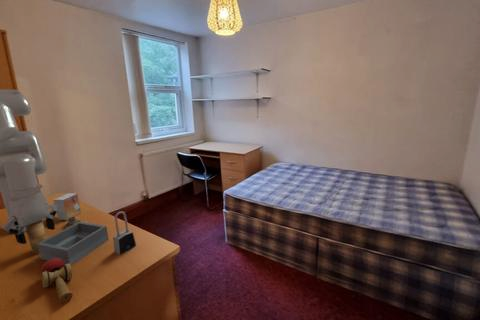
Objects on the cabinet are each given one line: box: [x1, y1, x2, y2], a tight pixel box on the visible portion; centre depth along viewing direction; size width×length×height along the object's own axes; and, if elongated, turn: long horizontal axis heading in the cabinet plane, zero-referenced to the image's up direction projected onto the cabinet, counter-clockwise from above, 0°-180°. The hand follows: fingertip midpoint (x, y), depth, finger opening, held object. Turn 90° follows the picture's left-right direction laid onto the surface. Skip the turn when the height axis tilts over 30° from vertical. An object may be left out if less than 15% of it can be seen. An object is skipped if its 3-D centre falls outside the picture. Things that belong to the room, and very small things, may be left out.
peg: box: [25, 220, 48, 255], centre depth 88 cm, size 5×5×11 cm
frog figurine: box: [61, 216, 90, 231], centre depth 105 cm, size 12×12×4 cm
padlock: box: [112, 211, 137, 256], centre depth 87 cm, size 7×4×15 cm, turn 145°
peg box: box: [37, 221, 109, 266], centre depth 88 cm, size 14×16×6 cm
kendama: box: [40, 258, 74, 304], centre depth 71 cm, size 8×6×18 cm
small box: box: [53, 192, 82, 221], centre depth 114 cm, size 8×6×10 cm
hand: (37, 235), depth 87 cm, fingers open, 9 cm apart
